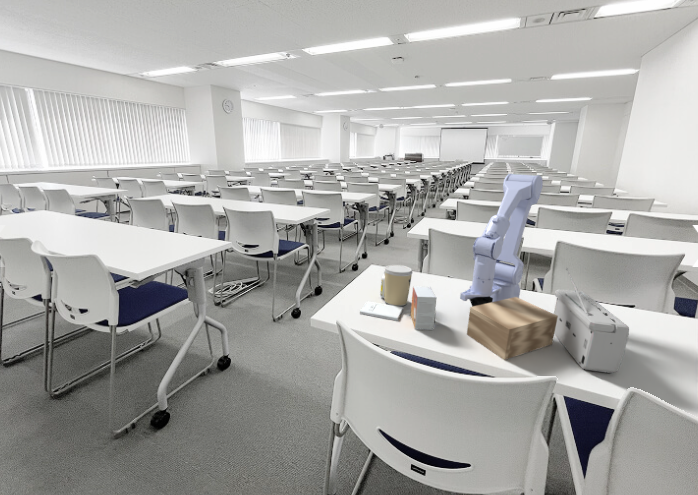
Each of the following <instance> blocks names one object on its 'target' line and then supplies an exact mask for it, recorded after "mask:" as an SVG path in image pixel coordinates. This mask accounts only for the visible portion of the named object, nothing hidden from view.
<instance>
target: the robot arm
mask: <svg viewBox="0 0 698 495" xmlns="http://www.w3.org/2000/svg"><path fill="white" fill-rule="evenodd" d="M543 182H544V181H543V177H542V176H541V175H540V174H537V175H532V174H516V173H515V174H513V173H508V174H507V175H506V176H505V177H504V179H503V185H502V190H503V197H502V200H501V202H500V204H499V208H498V210H497V214H494V215H493V216H491V217H490V219H489V221H488V223H487V225H486V227H485V228H484V230H483V232H482V234H481V236H479V237H477V238H476V239H475V240H474V242H473V245H472V253H473V261H474V267H473V274H472V283H471V285H469V288H468V289H467V290H465V291H463V292H460V295H459V299H460V300H462V301H464V302H467V301H468V300H469V301H470V304H471V307H473V306H478V305H482V304H487V303H491V302H495V301H500V300H504V299H509V298H513V297H517V298H520V294H521V287H520V285H519V284H520V283H521V280H522V278H523V273H524V272H523V270H524V267H525V266H524V262H523V261H522V259H520V257H519V256H518V252H519V248H520V246H521V242H522V239H523V234H524V232H525V227H526V224H527V222H528V217H529V214H530V210H531V208H532V206H533V205H536V204H538V202H539V199H540V198H541V194H542V190H543V184H544V183H543ZM509 263H510V264H509Z"/></svg>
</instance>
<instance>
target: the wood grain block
mask: <svg viewBox="0 0 698 495" xmlns="http://www.w3.org/2000/svg"><path fill="white" fill-rule="evenodd" d="M468 313H469V314H468V315H469V316H468V321H467V322H468V323H467V329H466V330H467V331H466V335H467V336H468V337H470V338H471V339H473V340H474V341H475V342H477V343H479V344H480V345H481V346H483V347H485V348H486V349H488V350H489V351H491V352H492V353H494V354H495V355H496V356H498V358H500V359H502V360H504V361H505V360H508V359H511V358H514V357H517V356H520V355H523V354H528V353H530V352H533V351H536V350H539V349H542V348H545V347H549V346H552V345H553V341H554V338H555V337H554V336H555V334H554V332H555V327H556V323H557V318H558V316H557V315H555V314H554V312H553V313H552V312H550V311H548V310H546V309H544V308H542V307H539V306H537V305H534V304H533V303H530V302H529V301H527V300H524V299H522V298H520V297H519V298H517V297H513V298H509V299H504V300H500V301H495V302H491V303H487V304H482V305H478V306H473V307H472V306H470V308H469V312H468Z"/></svg>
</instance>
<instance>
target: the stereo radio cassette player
mask: <svg viewBox="0 0 698 495" xmlns="http://www.w3.org/2000/svg"><path fill="white" fill-rule="evenodd" d="M565 270H566V271H567V274H568V275H569V278H570V281H571V283H572V286H573V288H574V290H571V289H555V291H554V296H555V297H556V301H555V304H554V305H555V306H554V311H553V314H555V315H557V316H558V318H557V323H556V327H555V332H554V336H555V337H556V338H557V339H558V340H559V342H560V343H561V344H562V346H564V348H565V349H566V350H567V352H568V353H569V354H570V355H571V356H572V358H573V359H574V360H575V362H577V364H578V365H579V367H580V368H581V369H582V370H584V369H585V370H586V371H593V372H601V373H606V372H607V373H606V374H608V373H609V374H612V373H618V370H619V368H620V366H621V364H622V360H623V357H624V355H625V351H626V347H627V343H628V339H629V335H630V327H629V325H627V324H626V323H624V322H623V320H621V319H620V318H618V317H617V316H615V315H614V314H613V313H611V312H610V311H609V310H608V309H606V308H605V307H604V306H602V305H601V304H600V303H599V302H597V301H596V300H595V299H594V298H593V297H591V296H590V295H588V293H586V292H584V291H583V290H578V288H577V286H576V284H575V282H574V279H573V278H572V275H571V273H570V271H569V267H566V268H565Z"/></svg>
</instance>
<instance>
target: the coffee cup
mask: <svg viewBox="0 0 698 495" xmlns="http://www.w3.org/2000/svg"><path fill="white" fill-rule="evenodd" d="M384 270H385V299H384V302H385V303H386V305H392V306H398V307H404V306H405V305H407V304H408V299H409V294H410V289H411V288H410V287H411V282H412V275H413V269H412V268H411V267H409V266H406V265H402V264H389V265H386V266H385V268H384Z"/></svg>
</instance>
